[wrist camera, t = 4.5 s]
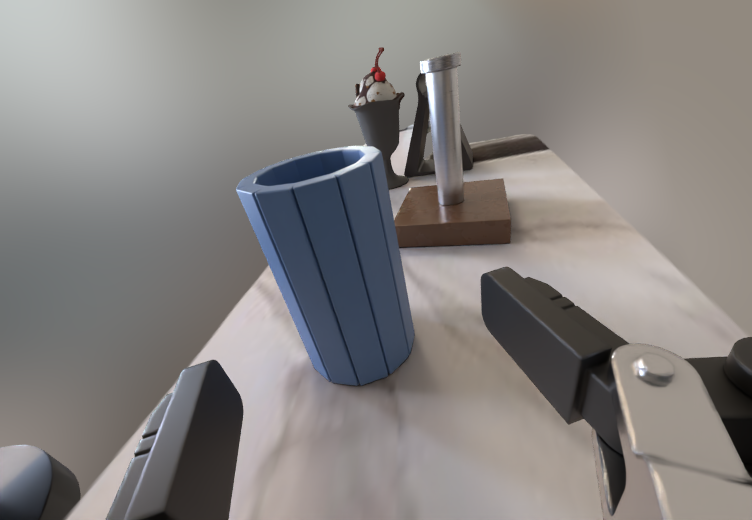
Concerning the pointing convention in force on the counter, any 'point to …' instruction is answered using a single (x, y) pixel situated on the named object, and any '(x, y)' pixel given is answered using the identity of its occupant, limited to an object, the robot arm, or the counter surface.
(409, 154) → the phone stand
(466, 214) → the wooden base post
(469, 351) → the counter surface
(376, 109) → the sundae
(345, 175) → the blue sleeve
